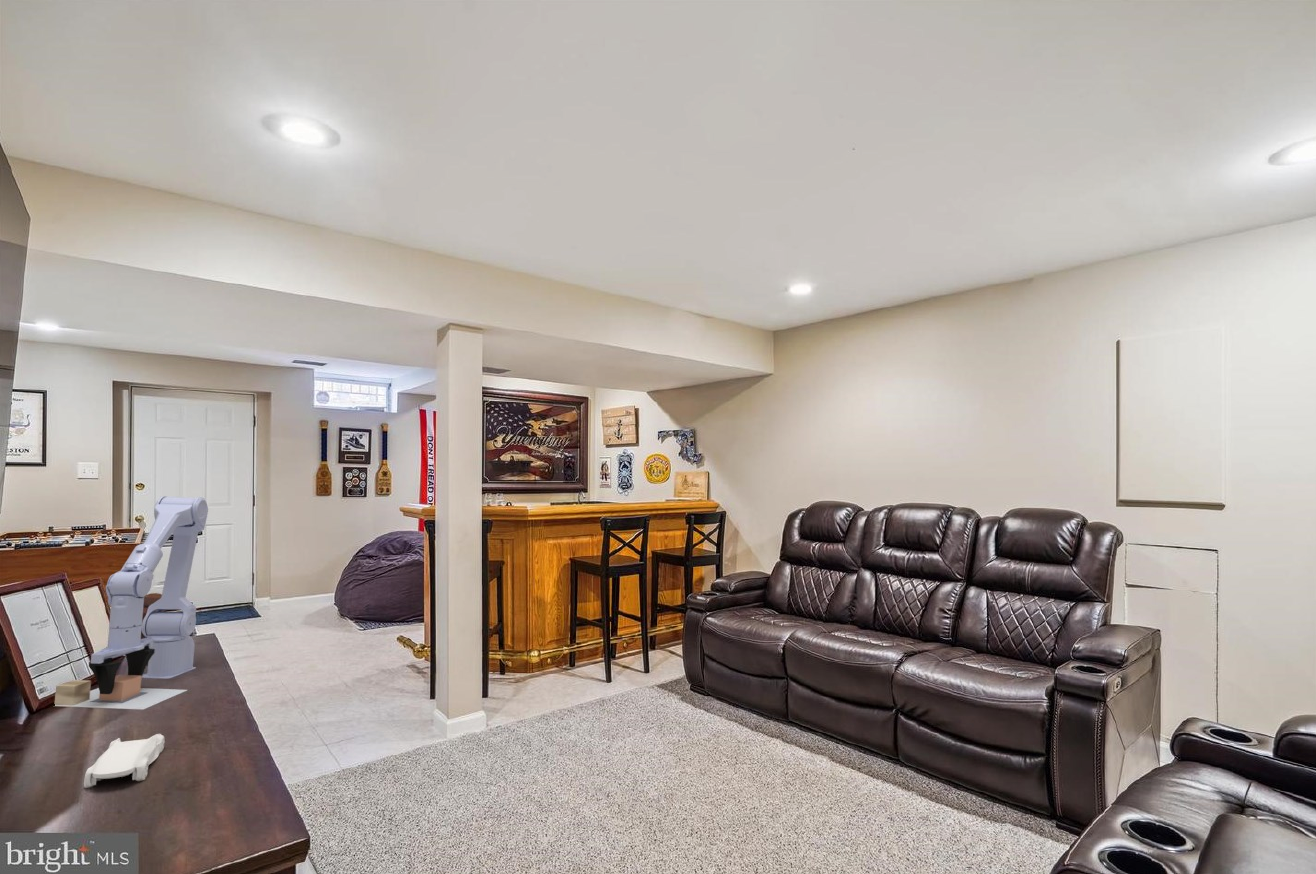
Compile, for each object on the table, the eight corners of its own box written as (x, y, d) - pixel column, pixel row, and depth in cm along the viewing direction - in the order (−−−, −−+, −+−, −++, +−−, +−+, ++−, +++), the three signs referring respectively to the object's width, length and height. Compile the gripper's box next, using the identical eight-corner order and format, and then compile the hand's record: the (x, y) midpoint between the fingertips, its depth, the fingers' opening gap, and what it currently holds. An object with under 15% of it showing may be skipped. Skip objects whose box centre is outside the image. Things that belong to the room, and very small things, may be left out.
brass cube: (71, 698, 145) (73, 680, 145) (89, 699, 144) (91, 680, 145) (54, 705, 141) (56, 685, 141) (73, 705, 140) (74, 686, 141)
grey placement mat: (102, 688, 153) (102, 686, 153) (187, 692, 153) (187, 689, 153) (49, 708, 140) (50, 705, 140) (143, 711, 140) (143, 708, 140)
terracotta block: (118, 692, 149) (119, 674, 149) (140, 693, 149) (141, 675, 149) (99, 700, 144) (100, 681, 144) (121, 701, 144) (123, 682, 144)
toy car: (112, 753, 120) (114, 728, 120) (165, 747, 124) (167, 722, 124) (77, 798, 104) (80, 768, 104) (139, 789, 107) (142, 760, 108)
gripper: (116, 633, 140) (110, 699, 139) (167, 619, 155) (163, 679, 154) (83, 632, 140) (77, 698, 139) (138, 618, 155) (133, 677, 154)
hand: (120, 688), depth 147 cm, fingers open, 7 cm apart
